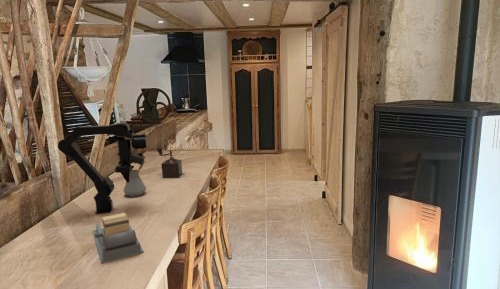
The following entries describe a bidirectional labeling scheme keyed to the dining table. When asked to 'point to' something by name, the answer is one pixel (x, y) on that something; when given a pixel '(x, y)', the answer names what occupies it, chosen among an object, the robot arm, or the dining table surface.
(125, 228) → the crate
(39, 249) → the dining table surface
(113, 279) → the dining table surface
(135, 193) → the coffee pot
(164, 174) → the manual coffee grinder
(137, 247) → the bay
